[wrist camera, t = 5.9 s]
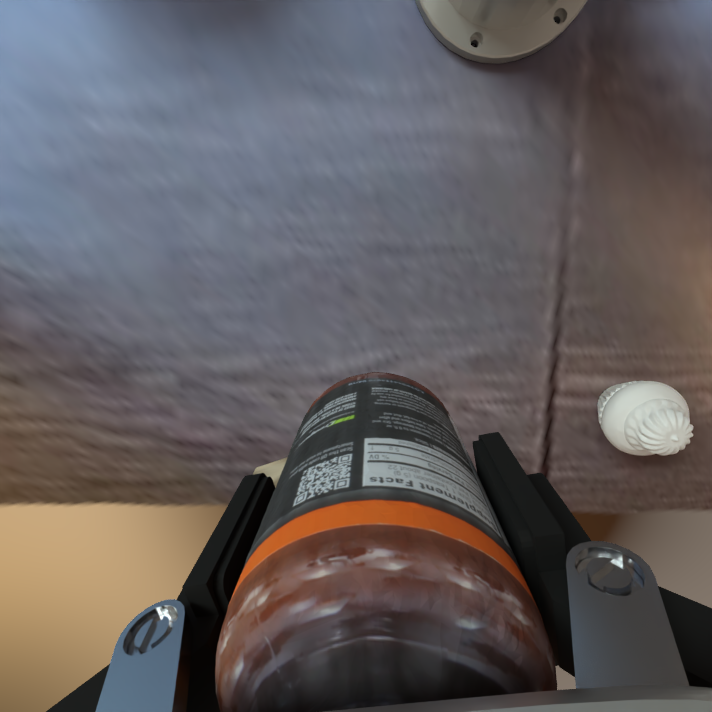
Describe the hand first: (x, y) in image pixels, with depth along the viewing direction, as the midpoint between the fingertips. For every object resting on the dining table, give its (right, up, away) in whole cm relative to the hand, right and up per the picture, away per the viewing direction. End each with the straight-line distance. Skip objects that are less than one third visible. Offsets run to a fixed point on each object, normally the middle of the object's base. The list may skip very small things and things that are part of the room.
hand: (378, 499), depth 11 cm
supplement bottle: (0, +1, +4) cm, 4 cm away
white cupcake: (+22, 0, +22) cm, 31 cm away
